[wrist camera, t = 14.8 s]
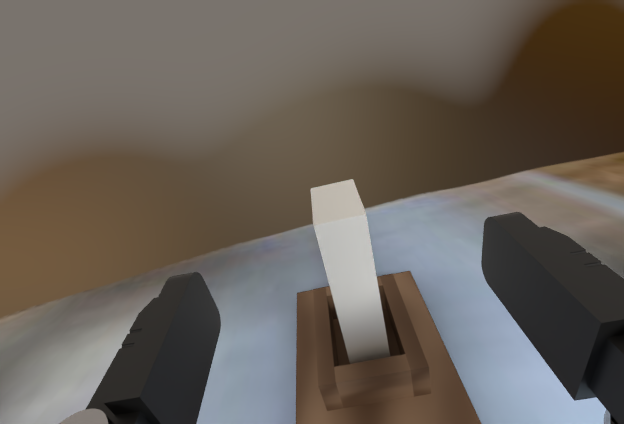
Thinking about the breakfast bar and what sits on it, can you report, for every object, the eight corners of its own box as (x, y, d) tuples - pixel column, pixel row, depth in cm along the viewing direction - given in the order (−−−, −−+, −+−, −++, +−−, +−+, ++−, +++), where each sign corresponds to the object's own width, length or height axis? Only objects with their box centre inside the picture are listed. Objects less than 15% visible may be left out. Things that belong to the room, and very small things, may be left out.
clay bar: (353, 377, 25) (313, 225, 18) (345, 325, 29) (310, 188, 23) (392, 370, 25) (366, 214, 18) (378, 319, 29) (352, 179, 22)
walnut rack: (299, 477, 21) (282, 445, 19) (299, 299, 35) (289, 271, 33) (488, 448, 20) (490, 412, 18) (410, 278, 34) (407, 247, 32)
